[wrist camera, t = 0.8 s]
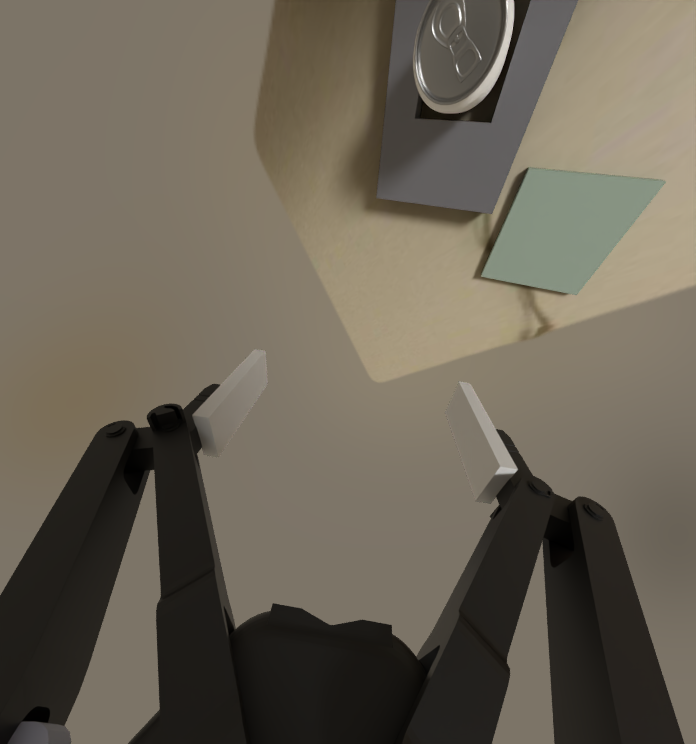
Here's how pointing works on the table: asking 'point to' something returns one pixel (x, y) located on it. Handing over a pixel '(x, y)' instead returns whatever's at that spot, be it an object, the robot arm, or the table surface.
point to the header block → (462, 138)
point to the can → (461, 51)
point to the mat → (565, 227)
